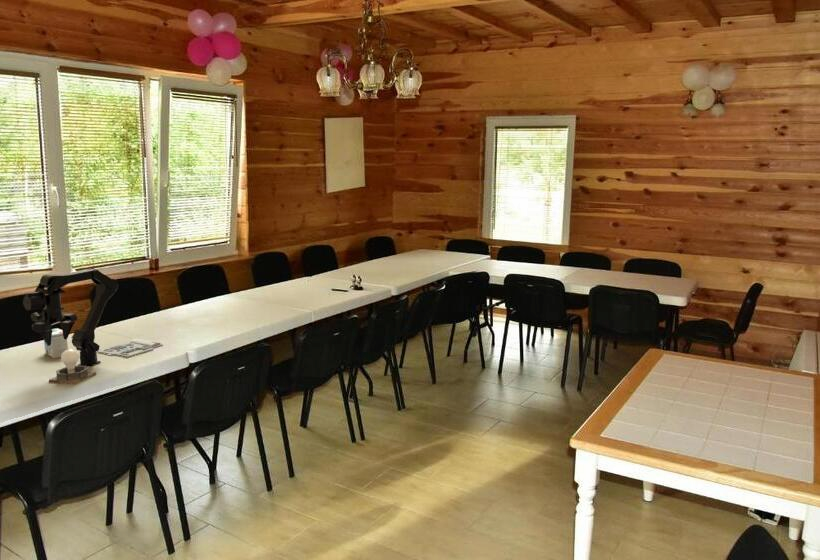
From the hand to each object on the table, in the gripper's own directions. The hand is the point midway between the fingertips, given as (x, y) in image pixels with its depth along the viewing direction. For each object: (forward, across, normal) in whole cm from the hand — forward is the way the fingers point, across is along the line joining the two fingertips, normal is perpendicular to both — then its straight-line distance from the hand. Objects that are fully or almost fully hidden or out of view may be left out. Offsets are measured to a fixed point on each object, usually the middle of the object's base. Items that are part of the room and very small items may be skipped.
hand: (57, 342), depth 264 cm
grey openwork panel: (+14, -36, +8) cm, 39 cm away
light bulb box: (+13, -22, -21) cm, 33 cm away
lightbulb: (+12, +5, +10) cm, 16 cm away
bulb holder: (+13, +5, +10) cm, 17 cm away
